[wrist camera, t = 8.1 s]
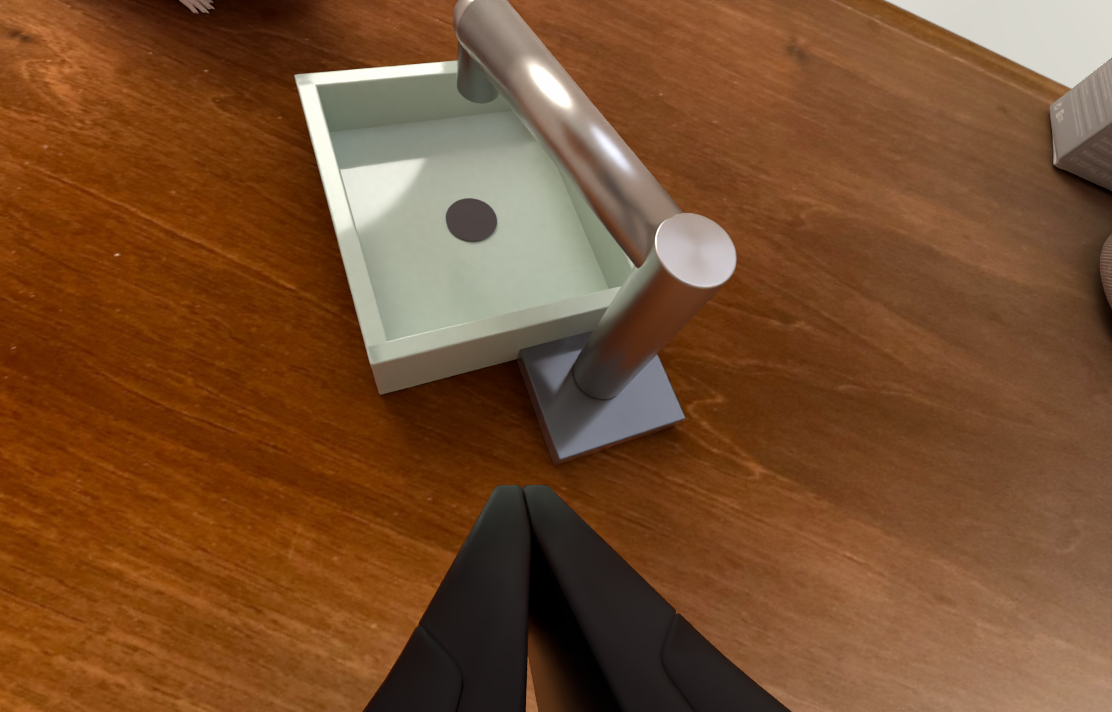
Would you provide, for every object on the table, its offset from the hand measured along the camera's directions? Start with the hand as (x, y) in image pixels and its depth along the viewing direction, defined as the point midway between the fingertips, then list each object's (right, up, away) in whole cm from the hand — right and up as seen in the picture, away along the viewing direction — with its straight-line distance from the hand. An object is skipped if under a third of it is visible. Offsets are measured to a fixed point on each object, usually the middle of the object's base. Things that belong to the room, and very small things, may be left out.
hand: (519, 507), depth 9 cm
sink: (-3, +6, +17) cm, 18 cm away
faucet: (0, +6, +16) cm, 17 cm away
